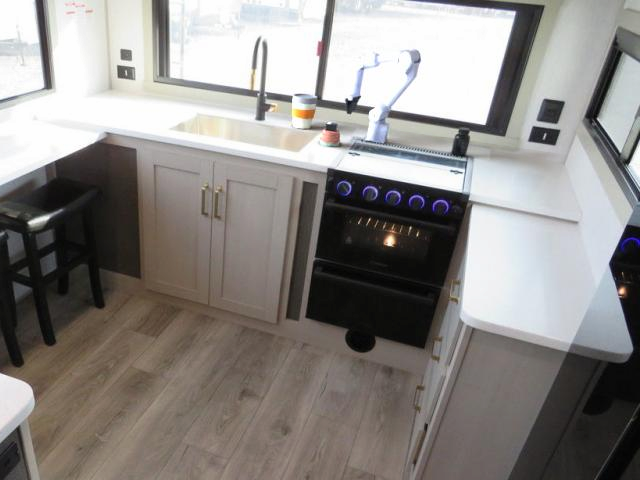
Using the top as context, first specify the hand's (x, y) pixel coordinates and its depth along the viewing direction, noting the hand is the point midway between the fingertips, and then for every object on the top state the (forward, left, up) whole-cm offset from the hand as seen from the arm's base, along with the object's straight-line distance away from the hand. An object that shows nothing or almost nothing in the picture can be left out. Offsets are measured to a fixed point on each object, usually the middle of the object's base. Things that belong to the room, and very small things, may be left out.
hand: (350, 112), depth 284 cm
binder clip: (+4, +22, -4) cm, 23 cm away
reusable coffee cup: (+24, +2, -10) cm, 26 cm away
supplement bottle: (-54, +5, -11) cm, 56 cm away
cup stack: (+4, +22, -10) cm, 25 cm away
